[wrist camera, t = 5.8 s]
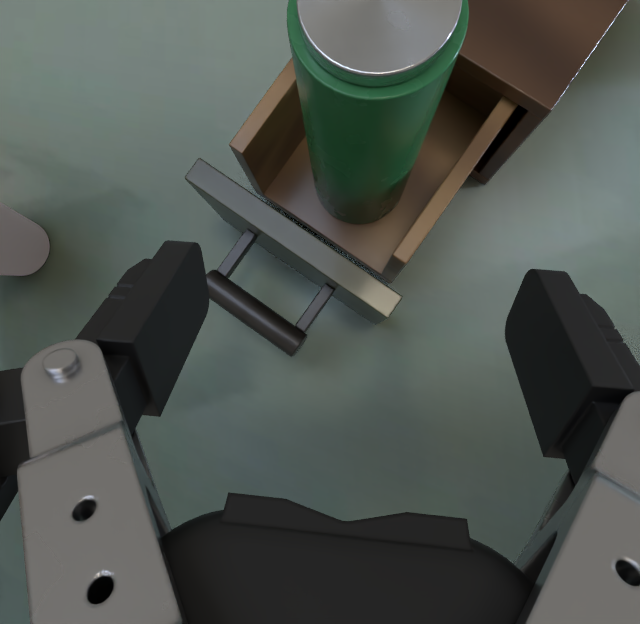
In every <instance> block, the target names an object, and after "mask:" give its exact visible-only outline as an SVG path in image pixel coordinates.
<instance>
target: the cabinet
mask: <svg viewBox="0 0 640 624" xmlns="http://www.w3.org/2000/svg"><path fill="white" fill-rule="evenodd" d="M628 1H629V0H468V6H469V20H468V27H467V32H466V35H465V39H464V42H463V44H462V47H461V49H460V52H459V54H458V57H457V59H456V62H455V64H454V65H455V66H457V67H459V68H460V69H462V70H463V71H465V72H467V73H468V74H470V75H471V76H473V77H475V78H476V79H478V80H479V81H481V82H483V83H484V84H486V85H488V86H489V87H491V88H492V89H494V90H496V91H497V92H499V93H500V94H502V95H504V96H505V97H507V98H509V99H510V100H512V101H513V102H515V103H517V104H518V106H517V107H516V109H515V110H514V111H513V113H512V114H511V116H510V117H509V119H508V120H507V121H506V123H505V124H504V126H503V127H502V129H501V130H500V131H499V133H498V134H497V136H496V137H495V139H494V140H493V141H492V143H491V144H490V146H489V147H488V149H487V150H486V151H485V153H484V154H483V156H482V157H481V159H480V160H479V161H478V163H477V164H476V166H475V167H474V169H473V170H472V171H471V173H470V174H469V175H470V176H472V177H473V178H475V179H476V180H478V181H479V182H481V183H482V184H484V185H485V184H486V183H487V182H488V181H489V180H490V179H491V178H492V177H493V176H494V174H495V173H496V172H497V171H498V170H499V169H500V168H501V167H502V165H503V164H504V163H505V162H506V161H507V160H508V159H509V158H510V157H511V155H512V154H513V153H514V152H515V151H516V150H517V149H518V148H519V147H520V145H521V144H522V143H523V142H524V141H525V140H526V139H527V138H528V136H529V135H530V134H531V133H532V132H533V131H534V130H535V129H536V128H537V126H538V125H539V124H540V123H541V122H542V121H543V120H544V119H545V118H546V117H547V115H548V114H549V113H550V112H551V111H552V110H553V108H554V107H555V105H556V104H557V102H558V101H559V100H560V98H561V97H562V95H563V94H564V92H565V91H566V90H567V88H568V87H569V85H570V84H571V82H572V81H573V79H574V78H575V77H576V75H577V74H578V72H579V71H580V69H581V68H582V67H583V65H584V64H585V62H586V61H587V59H588V58H589V57H590V55H591V54H592V52H593V51H594V49H595V48H596V46H597V45H598V44H599V42H600V41H601V39H602V38H603V36H604V35H605V34H606V32H607V31H608V29H609V28H610V26H611V25H612V24H613V22H614V21H615V19H616V18H617V16H618V15H619V13H620V12H621V11H622V9H623V8H624V6H625V5H626V3H627V2H628Z"/></svg>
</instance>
